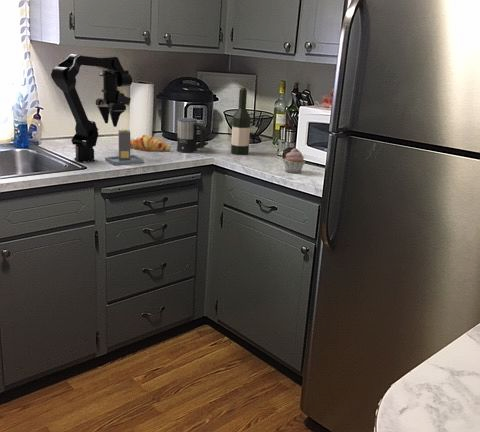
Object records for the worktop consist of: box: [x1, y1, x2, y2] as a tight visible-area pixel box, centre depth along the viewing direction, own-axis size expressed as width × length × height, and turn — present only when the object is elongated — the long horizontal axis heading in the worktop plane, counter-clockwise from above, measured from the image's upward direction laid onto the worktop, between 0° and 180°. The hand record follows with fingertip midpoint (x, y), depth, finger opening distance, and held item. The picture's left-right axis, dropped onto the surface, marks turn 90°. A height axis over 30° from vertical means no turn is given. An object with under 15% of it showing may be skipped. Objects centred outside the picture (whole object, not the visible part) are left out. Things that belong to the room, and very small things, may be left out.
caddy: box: [117, 129, 131, 161], centre depth 231 cm, size 4×5×13 cm
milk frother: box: [176, 117, 209, 154], centre depth 263 cm, size 14×16×15 cm
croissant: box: [130, 134, 172, 152], centre depth 260 cm, size 21×10×8 cm, turn 83°
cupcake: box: [282, 147, 306, 174], centre depth 233 cm, size 9×9×10 cm
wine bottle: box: [230, 87, 252, 156], centre depth 260 cm, size 8×8×30 cm
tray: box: [104, 154, 145, 166], centre depth 233 cm, size 13×9×2 cm
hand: (110, 125), depth 240 cm, fingers open, 9 cm apart
